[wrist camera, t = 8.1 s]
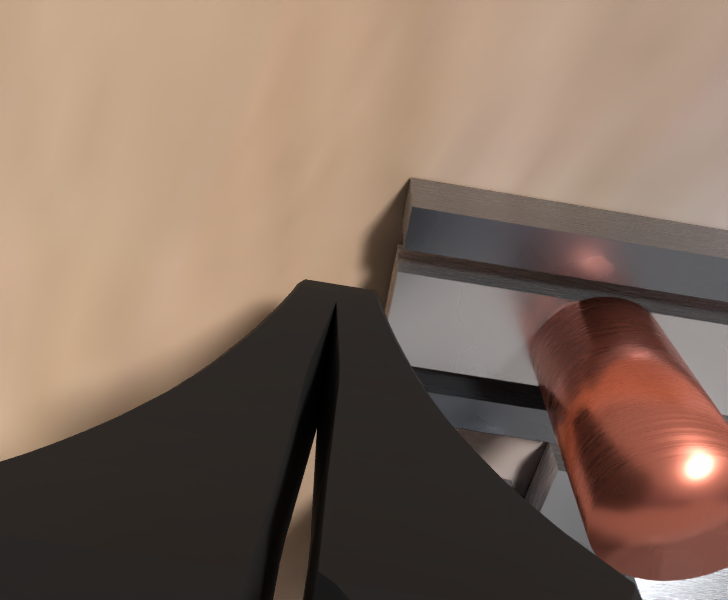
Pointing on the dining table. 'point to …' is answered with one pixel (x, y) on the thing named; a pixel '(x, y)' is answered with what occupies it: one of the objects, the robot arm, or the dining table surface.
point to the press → (557, 256)
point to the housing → (685, 588)
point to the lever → (595, 394)
